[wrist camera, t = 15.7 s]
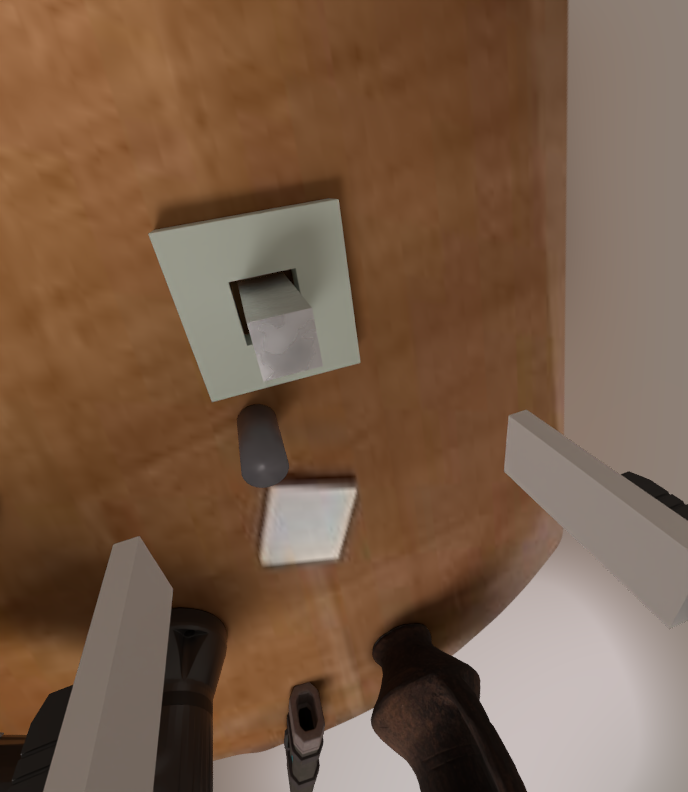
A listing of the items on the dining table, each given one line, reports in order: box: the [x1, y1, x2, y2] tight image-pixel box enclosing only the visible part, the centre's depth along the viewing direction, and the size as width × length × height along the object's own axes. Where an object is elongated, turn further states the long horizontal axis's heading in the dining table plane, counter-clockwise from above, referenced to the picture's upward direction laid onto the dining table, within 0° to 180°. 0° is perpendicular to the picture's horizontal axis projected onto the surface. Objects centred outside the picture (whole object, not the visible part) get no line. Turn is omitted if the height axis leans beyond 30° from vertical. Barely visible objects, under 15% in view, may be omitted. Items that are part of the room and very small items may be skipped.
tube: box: [284, 682, 325, 792], centre depth 69 cm, size 11×7×30 cm
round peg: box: [237, 404, 289, 488], centre depth 36 cm, size 4×4×8 cm
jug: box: [371, 624, 527, 792], centre depth 55 cm, size 21×18×30 cm
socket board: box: [149, 198, 360, 402], centre depth 33 cm, size 14×14×3 cm
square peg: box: [237, 272, 323, 381], centre depth 29 cm, size 4×4×12 cm
